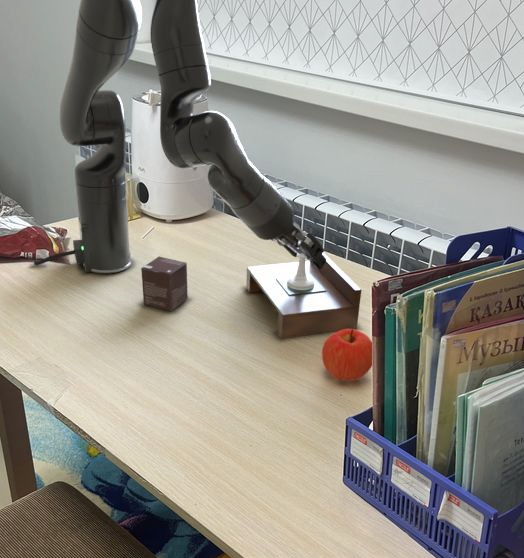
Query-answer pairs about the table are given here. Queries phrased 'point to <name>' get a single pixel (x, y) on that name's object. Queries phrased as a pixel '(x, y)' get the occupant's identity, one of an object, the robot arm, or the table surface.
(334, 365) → the apple
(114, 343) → the table surface
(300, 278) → the chess piece
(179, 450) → the table surface
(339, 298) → the shelf
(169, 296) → the box
